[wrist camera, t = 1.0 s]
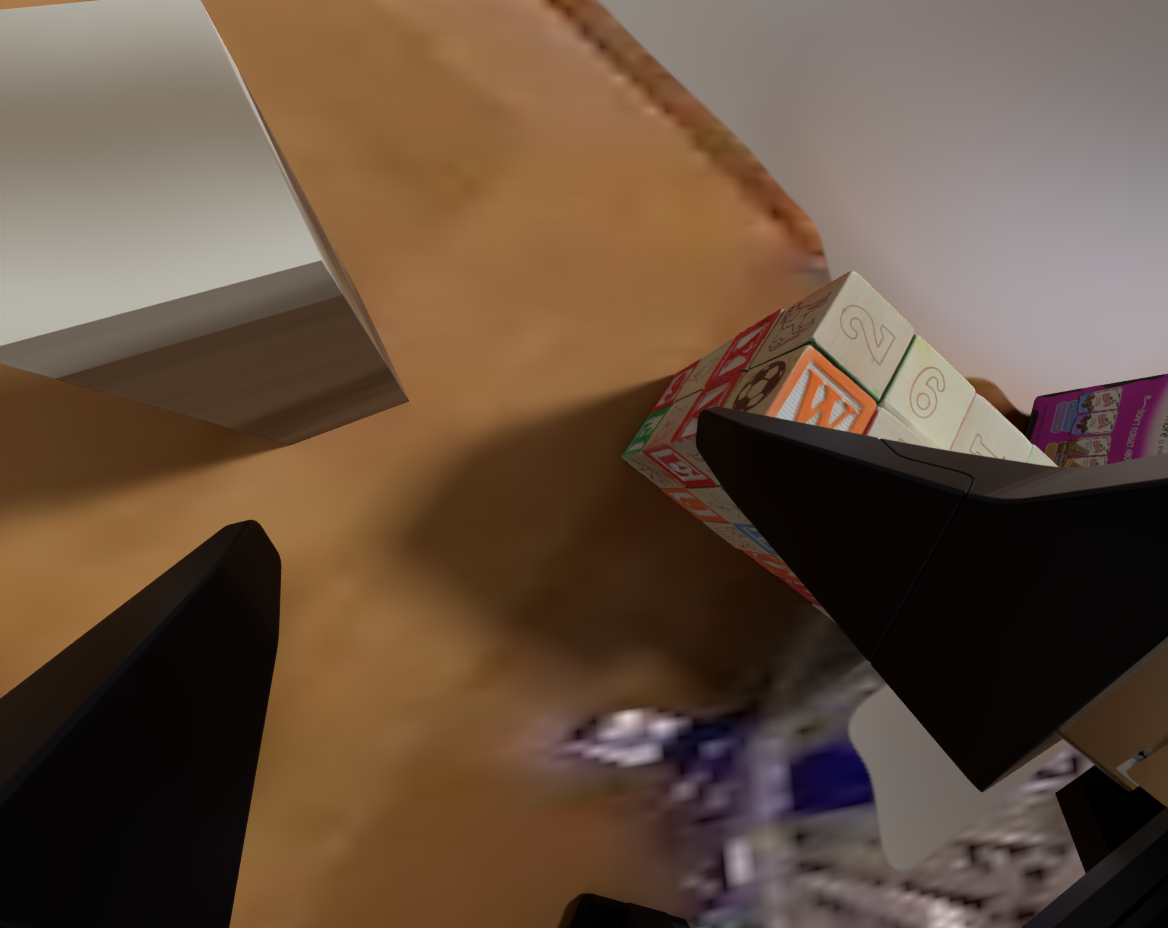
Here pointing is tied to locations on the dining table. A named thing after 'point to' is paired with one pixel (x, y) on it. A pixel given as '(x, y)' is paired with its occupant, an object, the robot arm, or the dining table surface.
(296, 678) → the dining table surface
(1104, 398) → the candy bar box
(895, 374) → the stack of blocks
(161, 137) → the silver metal block
